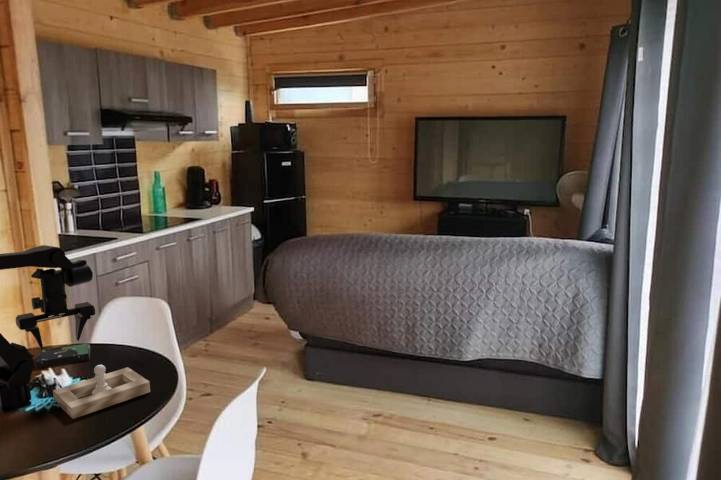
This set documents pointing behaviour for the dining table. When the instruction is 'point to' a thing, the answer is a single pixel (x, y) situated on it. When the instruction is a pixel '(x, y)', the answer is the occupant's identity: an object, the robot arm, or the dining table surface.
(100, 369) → the chess pawn
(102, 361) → the dining table surface
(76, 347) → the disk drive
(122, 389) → the wooden rectangular frame
